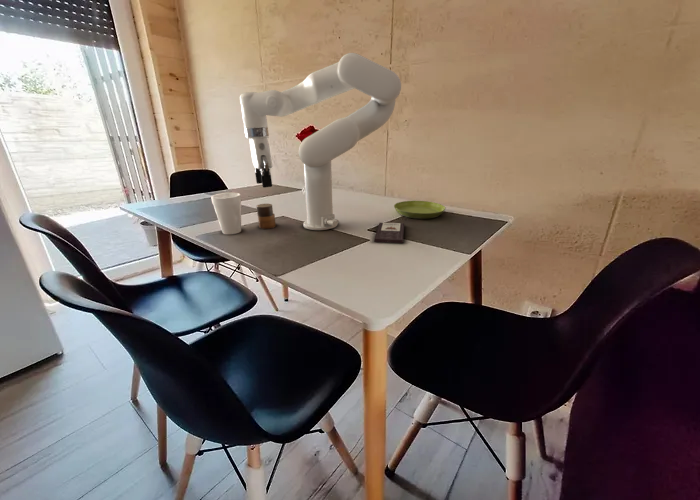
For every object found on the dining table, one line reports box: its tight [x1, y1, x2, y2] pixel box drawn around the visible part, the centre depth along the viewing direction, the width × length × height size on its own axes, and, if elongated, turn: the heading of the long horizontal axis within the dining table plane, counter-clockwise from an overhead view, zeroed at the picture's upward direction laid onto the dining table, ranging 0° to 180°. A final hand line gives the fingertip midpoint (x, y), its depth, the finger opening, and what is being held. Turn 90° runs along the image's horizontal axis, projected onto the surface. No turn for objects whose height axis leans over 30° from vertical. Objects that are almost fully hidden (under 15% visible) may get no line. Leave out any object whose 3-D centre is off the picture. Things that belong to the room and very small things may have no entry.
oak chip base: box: [258, 220, 277, 230], centre depth 116 cm, size 6×6×2 cm
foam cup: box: [210, 192, 242, 235], centre depth 109 cm, size 10×9×13 cm
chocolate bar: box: [373, 222, 405, 244], centre depth 106 cm, size 9×1×18 cm
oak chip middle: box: [257, 213, 276, 223], centre depth 115 cm, size 6×6×2 cm
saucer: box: [393, 200, 446, 220], centre depth 128 cm, size 21×21×3 cm
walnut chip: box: [255, 203, 274, 217], centre depth 114 cm, size 6×6×4 cm
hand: (264, 185), depth 111 cm, fingers open, 9 cm apart
